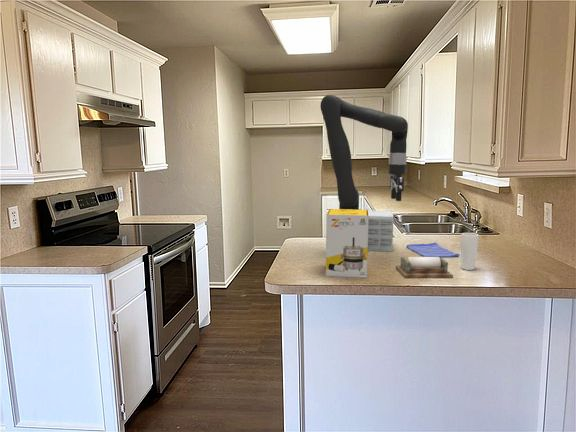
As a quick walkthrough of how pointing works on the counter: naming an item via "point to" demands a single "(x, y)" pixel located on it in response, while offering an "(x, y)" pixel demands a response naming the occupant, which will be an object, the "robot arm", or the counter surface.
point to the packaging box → (346, 243)
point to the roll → (424, 262)
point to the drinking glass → (469, 250)
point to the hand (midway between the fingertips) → (395, 199)
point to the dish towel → (432, 250)
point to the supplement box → (380, 231)
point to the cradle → (423, 270)
